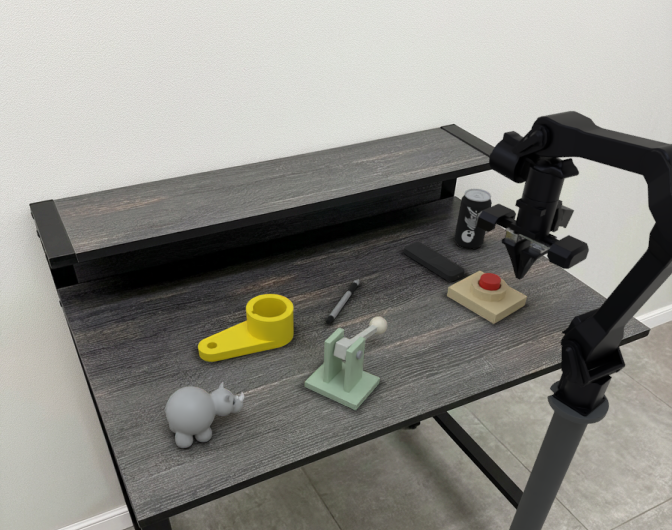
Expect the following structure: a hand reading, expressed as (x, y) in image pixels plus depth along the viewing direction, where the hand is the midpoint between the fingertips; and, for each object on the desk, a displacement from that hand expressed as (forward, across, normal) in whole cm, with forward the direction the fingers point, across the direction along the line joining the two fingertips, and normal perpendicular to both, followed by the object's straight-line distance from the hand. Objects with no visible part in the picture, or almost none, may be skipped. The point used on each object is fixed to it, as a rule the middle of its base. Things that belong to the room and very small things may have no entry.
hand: (519, 278), depth 110 cm
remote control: (+12, +25, -8) cm, 29 cm away
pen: (+12, +26, +17) cm, 34 cm away
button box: (+12, +9, -6) cm, 17 cm away
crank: (+12, +28, +39) cm, 50 cm away
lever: (+7, +10, +28) cm, 31 cm away
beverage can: (+12, +26, -21) cm, 36 cm away
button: (+9, +9, -6) cm, 14 cm away
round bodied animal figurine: (+13, +14, +56) cm, 59 cm away
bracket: (+12, +9, +33) cm, 37 cm away
